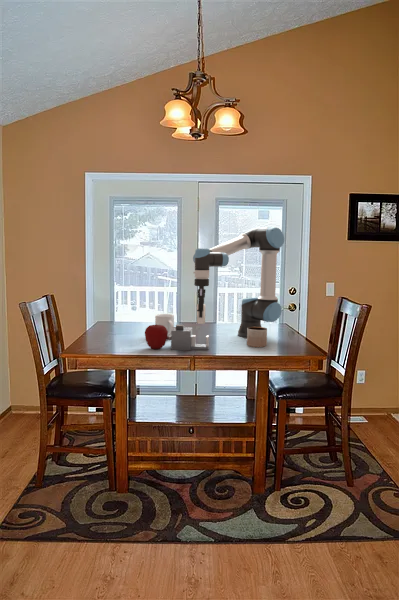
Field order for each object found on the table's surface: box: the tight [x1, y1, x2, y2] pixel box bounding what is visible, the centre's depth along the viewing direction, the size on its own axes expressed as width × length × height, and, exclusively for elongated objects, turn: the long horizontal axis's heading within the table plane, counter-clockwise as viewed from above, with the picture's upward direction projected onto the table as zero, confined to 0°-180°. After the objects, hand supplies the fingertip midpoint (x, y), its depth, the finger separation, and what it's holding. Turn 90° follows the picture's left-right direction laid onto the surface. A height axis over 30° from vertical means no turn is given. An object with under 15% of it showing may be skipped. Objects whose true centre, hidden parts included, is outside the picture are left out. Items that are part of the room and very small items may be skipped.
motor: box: [166, 324, 210, 351], centre depth 251 cm, size 22×12×12 cm, turn 87°
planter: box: [246, 326, 268, 348], centre depth 260 cm, size 11×11×10 cm
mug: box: [154, 313, 175, 336], centre depth 278 cm, size 15×11×13 cm
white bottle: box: [196, 303, 207, 325], centre depth 250 cm, size 4×4×12 cm
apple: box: [144, 324, 168, 350], centre depth 248 cm, size 12×12×13 cm
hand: (200, 322), depth 250 cm, fingers closed on white bottle, 4 cm apart
